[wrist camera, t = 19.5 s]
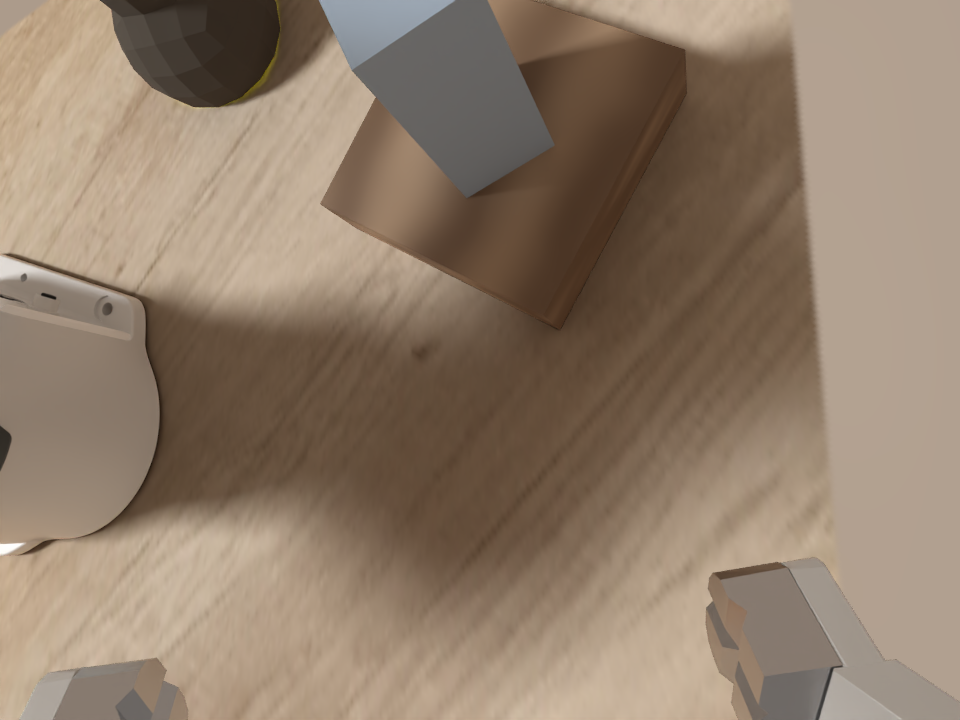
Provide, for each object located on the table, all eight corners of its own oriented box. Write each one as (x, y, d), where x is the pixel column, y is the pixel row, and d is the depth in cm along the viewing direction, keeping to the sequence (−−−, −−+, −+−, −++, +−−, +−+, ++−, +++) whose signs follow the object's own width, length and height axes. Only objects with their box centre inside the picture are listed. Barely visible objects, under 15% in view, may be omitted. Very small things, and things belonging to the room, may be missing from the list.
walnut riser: (355, 227, 41) (320, 204, 37) (465, 16, 40) (441, -29, 37) (559, 330, 36) (543, 315, 32) (686, 93, 36) (685, 49, 32)
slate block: (466, 198, 34) (351, 70, 23) (427, 119, 36) (300, -38, 24) (554, 145, 33) (480, -17, 22) (511, 66, 35) (419, -125, 23)
